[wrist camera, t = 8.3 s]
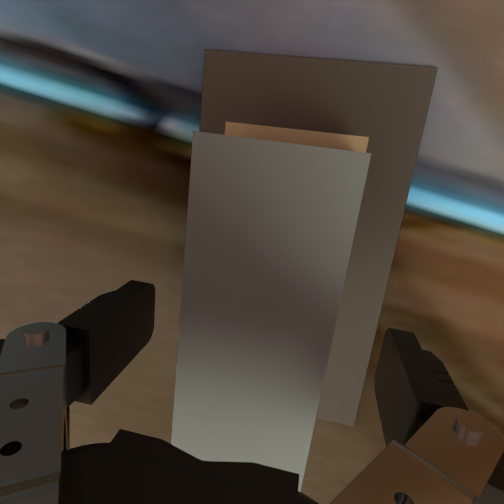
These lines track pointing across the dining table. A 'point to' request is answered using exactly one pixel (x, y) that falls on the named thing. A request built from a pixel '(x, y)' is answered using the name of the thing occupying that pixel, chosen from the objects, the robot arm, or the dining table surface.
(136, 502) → the robot arm
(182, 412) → the lintel
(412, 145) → the mat
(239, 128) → the pillar
